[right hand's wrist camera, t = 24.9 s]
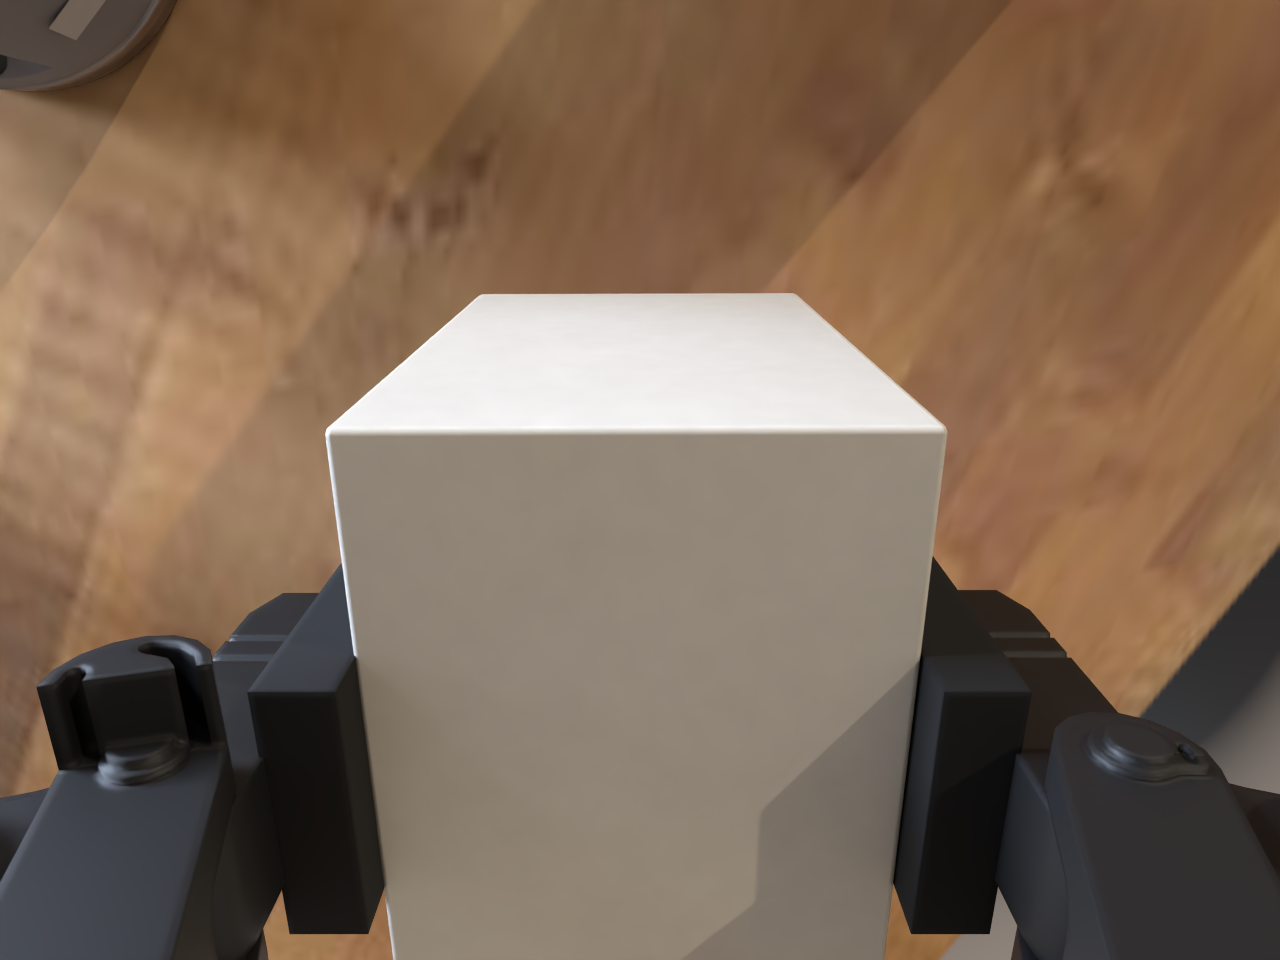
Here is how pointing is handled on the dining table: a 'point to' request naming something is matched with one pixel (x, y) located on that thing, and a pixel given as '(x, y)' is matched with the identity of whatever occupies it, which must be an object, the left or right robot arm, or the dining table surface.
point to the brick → (637, 628)
